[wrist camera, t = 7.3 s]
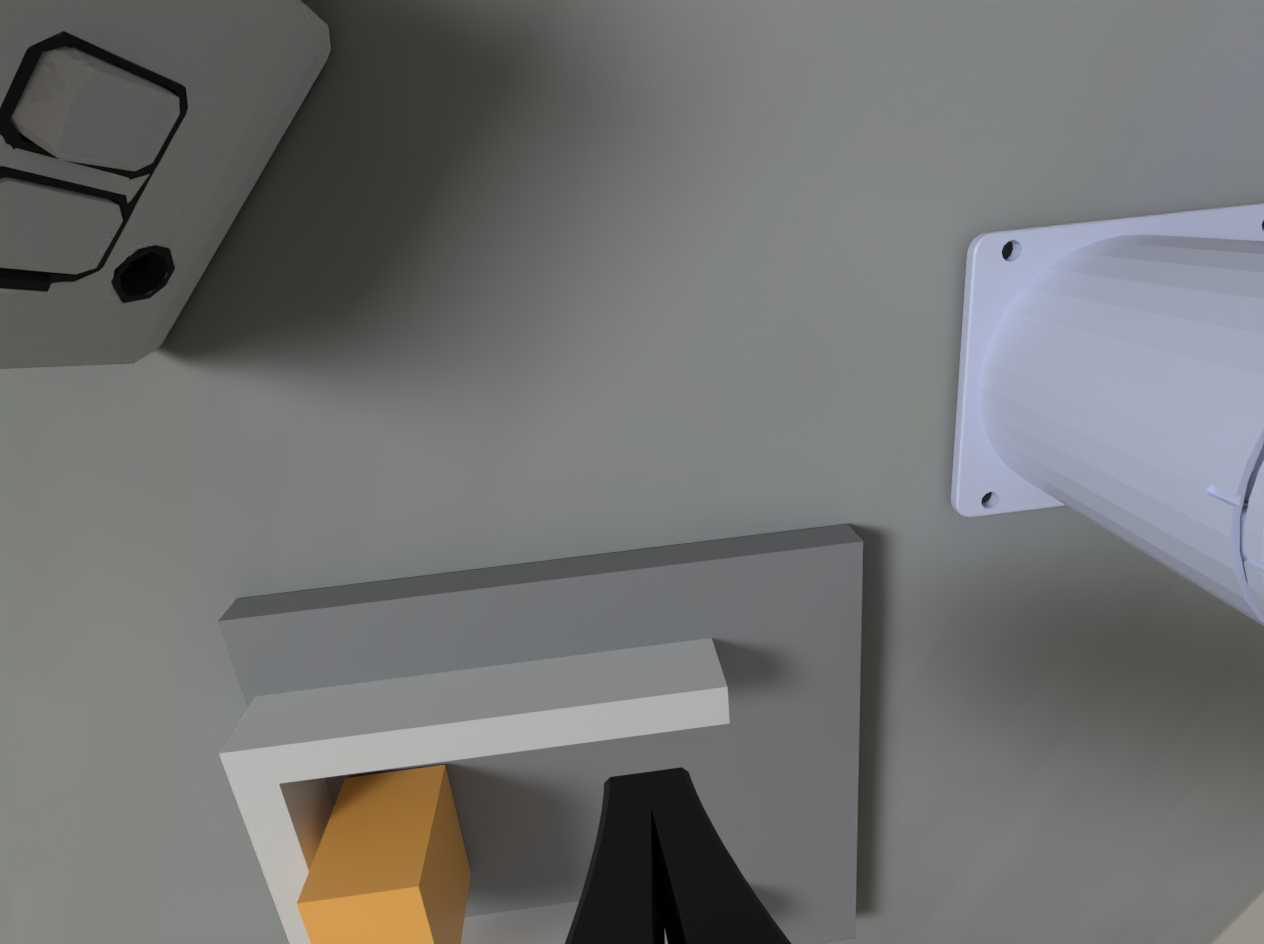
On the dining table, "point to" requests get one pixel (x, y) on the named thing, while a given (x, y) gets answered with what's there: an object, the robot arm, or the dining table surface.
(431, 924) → the block
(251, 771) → the grey tray
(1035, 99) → the dining table surface
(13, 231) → the electrical switch
